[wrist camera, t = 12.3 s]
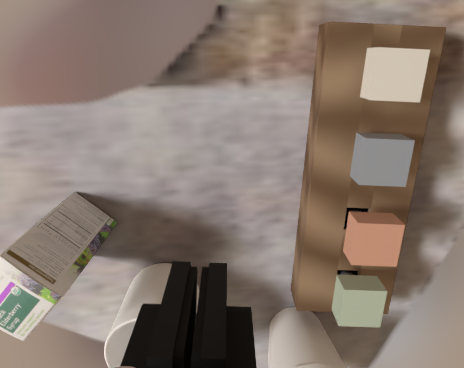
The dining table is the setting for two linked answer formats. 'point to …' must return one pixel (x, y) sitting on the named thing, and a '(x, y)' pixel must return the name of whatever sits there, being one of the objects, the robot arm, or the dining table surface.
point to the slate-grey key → (381, 159)
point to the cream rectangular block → (394, 74)
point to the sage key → (358, 300)
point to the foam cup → (300, 342)
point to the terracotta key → (373, 238)
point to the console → (341, 152)
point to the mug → (135, 309)
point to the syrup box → (48, 262)
